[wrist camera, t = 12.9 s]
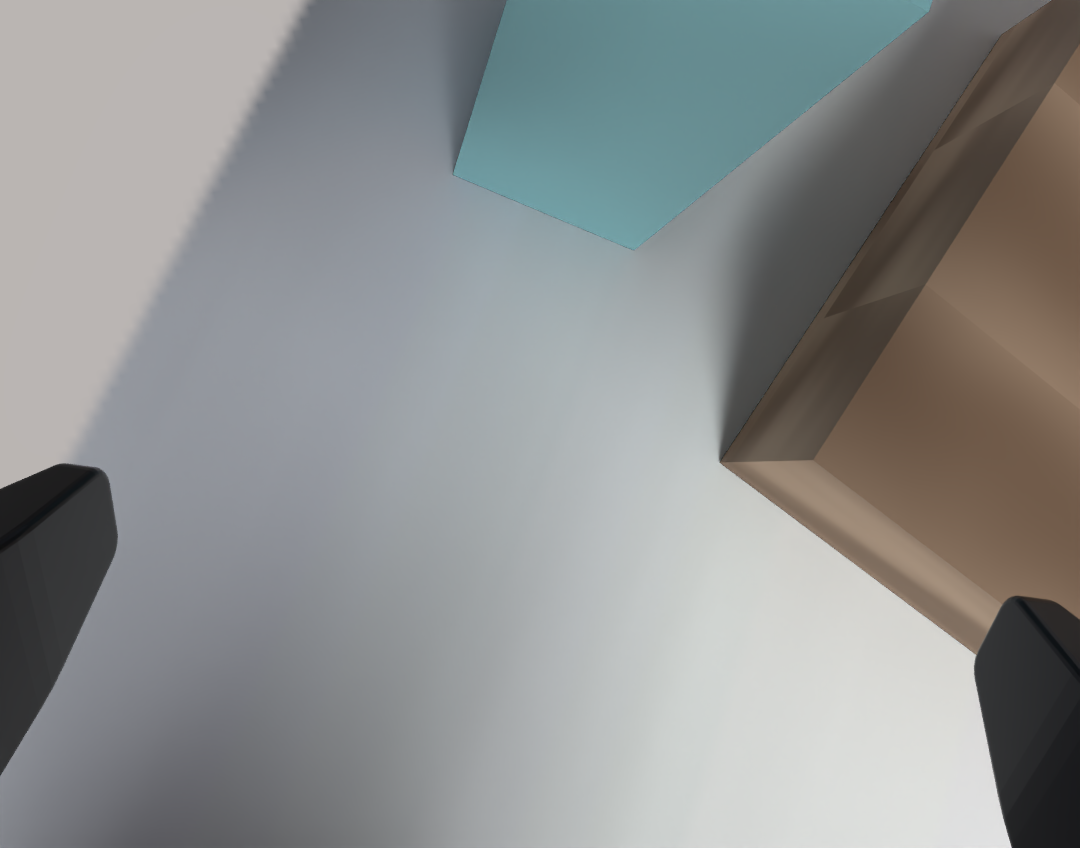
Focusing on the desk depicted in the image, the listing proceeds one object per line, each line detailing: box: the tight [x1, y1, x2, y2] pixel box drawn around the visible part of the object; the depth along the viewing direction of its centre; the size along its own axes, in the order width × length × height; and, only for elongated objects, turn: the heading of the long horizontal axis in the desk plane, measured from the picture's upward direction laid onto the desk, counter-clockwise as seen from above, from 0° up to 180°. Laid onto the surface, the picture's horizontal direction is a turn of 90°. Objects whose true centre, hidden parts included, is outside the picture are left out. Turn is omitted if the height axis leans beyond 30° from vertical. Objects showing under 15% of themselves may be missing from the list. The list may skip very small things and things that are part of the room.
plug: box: [453, 0, 932, 250], centre depth 14 cm, size 4×4×10 cm
